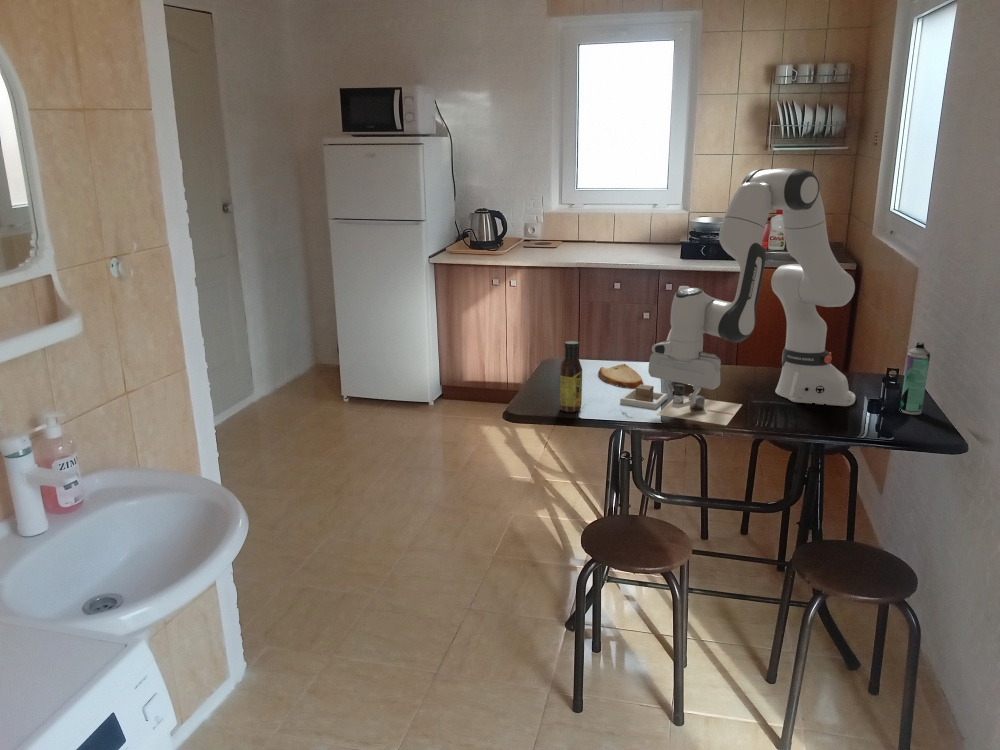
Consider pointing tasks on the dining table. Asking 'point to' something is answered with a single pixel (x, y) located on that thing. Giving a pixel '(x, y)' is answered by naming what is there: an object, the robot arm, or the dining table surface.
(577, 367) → the sauce bottle
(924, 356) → the spray can
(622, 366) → the bread slice
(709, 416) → the crank board
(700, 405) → the crank
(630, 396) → the tray
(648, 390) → the block
